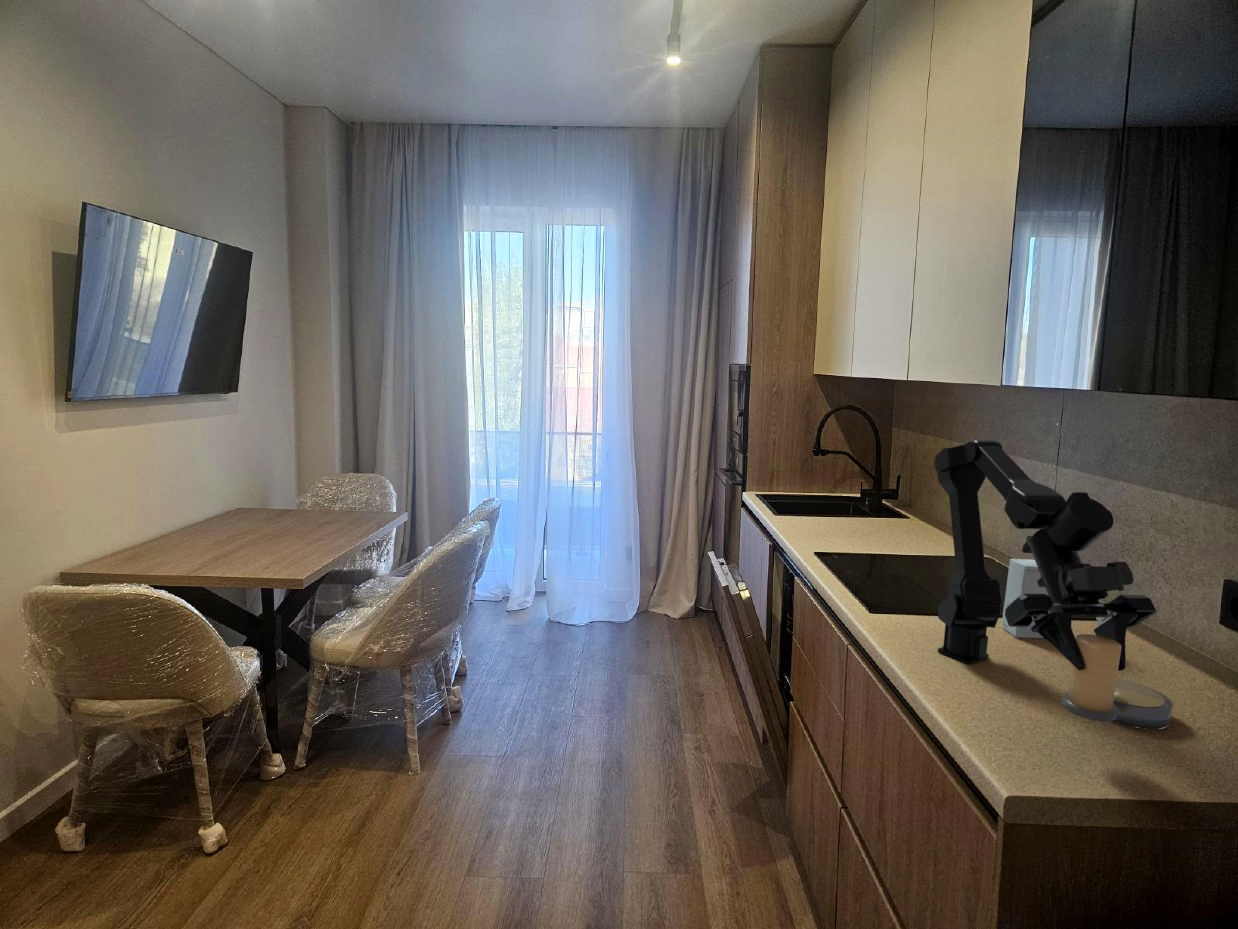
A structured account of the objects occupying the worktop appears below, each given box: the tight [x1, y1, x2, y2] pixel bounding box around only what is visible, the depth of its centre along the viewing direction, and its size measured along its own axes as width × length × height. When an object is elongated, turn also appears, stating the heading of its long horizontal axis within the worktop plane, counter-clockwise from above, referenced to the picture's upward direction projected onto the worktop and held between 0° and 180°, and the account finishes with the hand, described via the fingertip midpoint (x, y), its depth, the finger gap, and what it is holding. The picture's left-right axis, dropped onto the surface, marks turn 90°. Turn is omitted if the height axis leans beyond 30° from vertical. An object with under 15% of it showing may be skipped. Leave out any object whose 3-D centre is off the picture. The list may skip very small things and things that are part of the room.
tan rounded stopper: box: [1061, 633, 1122, 723], centre depth 99 cm, size 6×6×10 cm
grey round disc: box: [1113, 678, 1174, 729], centre depth 113 cm, size 11×11×3 cm
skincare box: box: [1001, 558, 1049, 639], centre depth 144 cm, size 8×6×15 cm
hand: (1102, 669), depth 97 cm, fingers closed on tan rounded stopper, 5 cm apart
